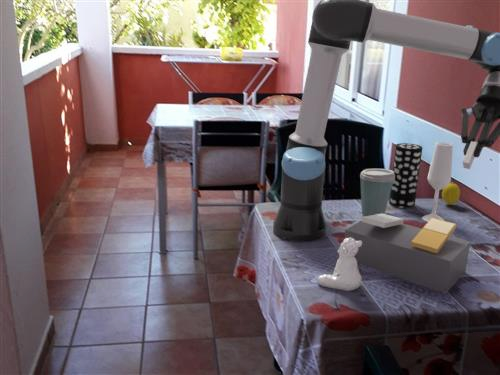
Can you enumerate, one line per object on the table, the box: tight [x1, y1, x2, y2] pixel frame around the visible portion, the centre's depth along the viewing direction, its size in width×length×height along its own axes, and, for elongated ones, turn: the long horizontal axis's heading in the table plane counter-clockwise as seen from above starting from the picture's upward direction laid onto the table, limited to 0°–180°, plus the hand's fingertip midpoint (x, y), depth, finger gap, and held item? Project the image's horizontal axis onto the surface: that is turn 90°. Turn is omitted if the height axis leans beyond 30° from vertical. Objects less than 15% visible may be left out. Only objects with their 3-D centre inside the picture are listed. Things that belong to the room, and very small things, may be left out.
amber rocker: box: [411, 218, 457, 253], centre depth 116 cm, size 12×6×1 cm, turn 140°
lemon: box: [441, 181, 461, 206], centre depth 166 cm, size 6×6×8 cm
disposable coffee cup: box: [359, 168, 395, 217], centre depth 153 cm, size 11×11×15 cm
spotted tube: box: [388, 142, 423, 209], centre depth 164 cm, size 8×8×20 cm
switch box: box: [344, 220, 471, 295], centre depth 122 cm, size 14×26×8 cm, turn 50°
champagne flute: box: [421, 141, 454, 223], centre depth 150 cm, size 7×7×24 cm
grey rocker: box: [360, 213, 405, 228], centre depth 124 cm, size 12×6×1 cm, turn 140°
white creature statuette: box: [317, 237, 363, 292], centre depth 112 cm, size 10×9×12 cm
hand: (466, 165), depth 125 cm, fingers closed
